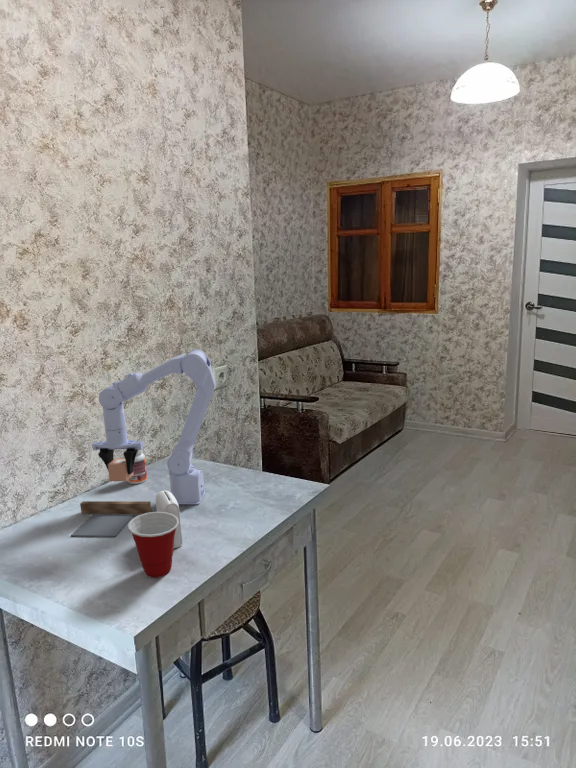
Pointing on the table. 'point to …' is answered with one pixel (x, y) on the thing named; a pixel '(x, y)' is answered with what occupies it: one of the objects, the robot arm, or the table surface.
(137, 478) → the pill bottle
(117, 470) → the marked cube
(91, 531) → the slate mat
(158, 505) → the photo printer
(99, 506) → the walnut board
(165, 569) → the plastic cup
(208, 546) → the table surface
